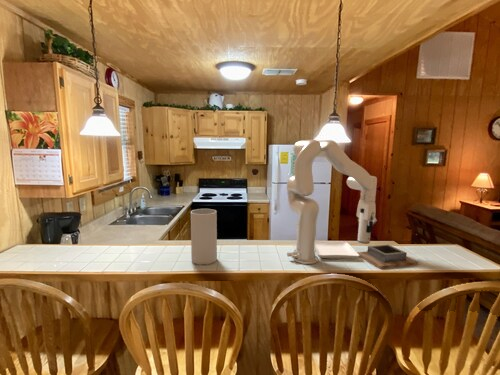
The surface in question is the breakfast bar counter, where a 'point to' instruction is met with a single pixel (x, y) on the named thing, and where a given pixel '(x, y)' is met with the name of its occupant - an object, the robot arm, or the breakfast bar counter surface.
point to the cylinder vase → (204, 236)
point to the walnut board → (383, 265)
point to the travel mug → (363, 229)
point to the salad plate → (335, 250)
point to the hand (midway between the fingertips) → (364, 230)
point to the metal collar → (391, 251)
